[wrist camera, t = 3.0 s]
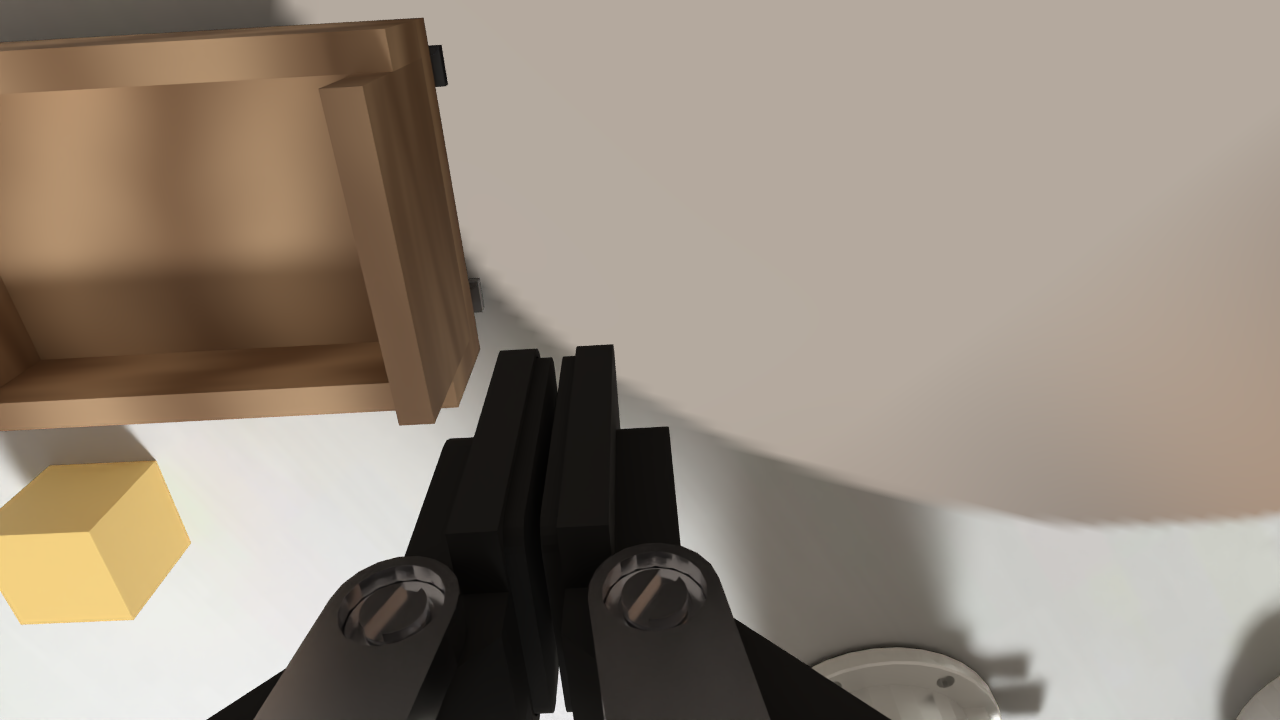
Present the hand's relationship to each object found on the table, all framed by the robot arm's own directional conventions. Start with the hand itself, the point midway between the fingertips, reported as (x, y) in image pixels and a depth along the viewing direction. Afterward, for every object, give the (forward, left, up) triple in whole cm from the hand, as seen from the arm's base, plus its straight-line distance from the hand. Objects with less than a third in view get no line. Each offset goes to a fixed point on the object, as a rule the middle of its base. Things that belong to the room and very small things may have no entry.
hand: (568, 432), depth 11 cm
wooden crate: (+13, 0, -16) cm, 21 cm away
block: (+22, +13, -17) cm, 31 cm away
